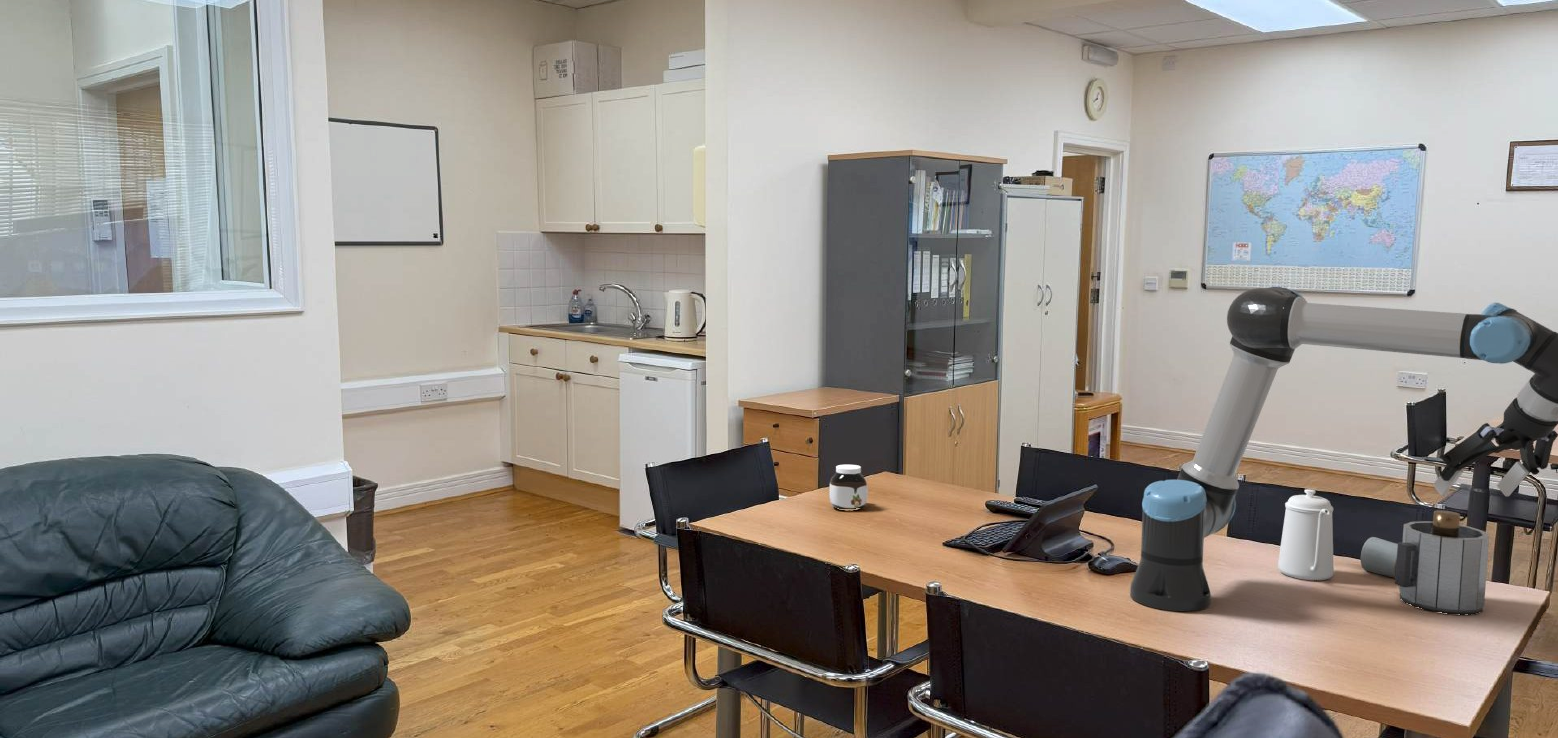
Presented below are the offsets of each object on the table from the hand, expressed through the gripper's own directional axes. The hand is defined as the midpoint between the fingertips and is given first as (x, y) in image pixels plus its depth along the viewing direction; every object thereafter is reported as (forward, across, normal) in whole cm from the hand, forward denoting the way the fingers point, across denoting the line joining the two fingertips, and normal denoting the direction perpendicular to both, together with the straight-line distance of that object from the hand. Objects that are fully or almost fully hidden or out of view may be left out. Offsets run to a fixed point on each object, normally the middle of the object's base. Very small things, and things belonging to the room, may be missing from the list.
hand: (1470, 490), depth 197 cm
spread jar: (+86, -94, +70) cm, 145 cm away
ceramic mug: (+38, +10, +10) cm, 40 cm away
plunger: (+23, +5, -4) cm, 24 cm away
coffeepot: (+39, -9, +10) cm, 42 cm away
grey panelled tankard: (+26, +4, -7) cm, 27 cm away
